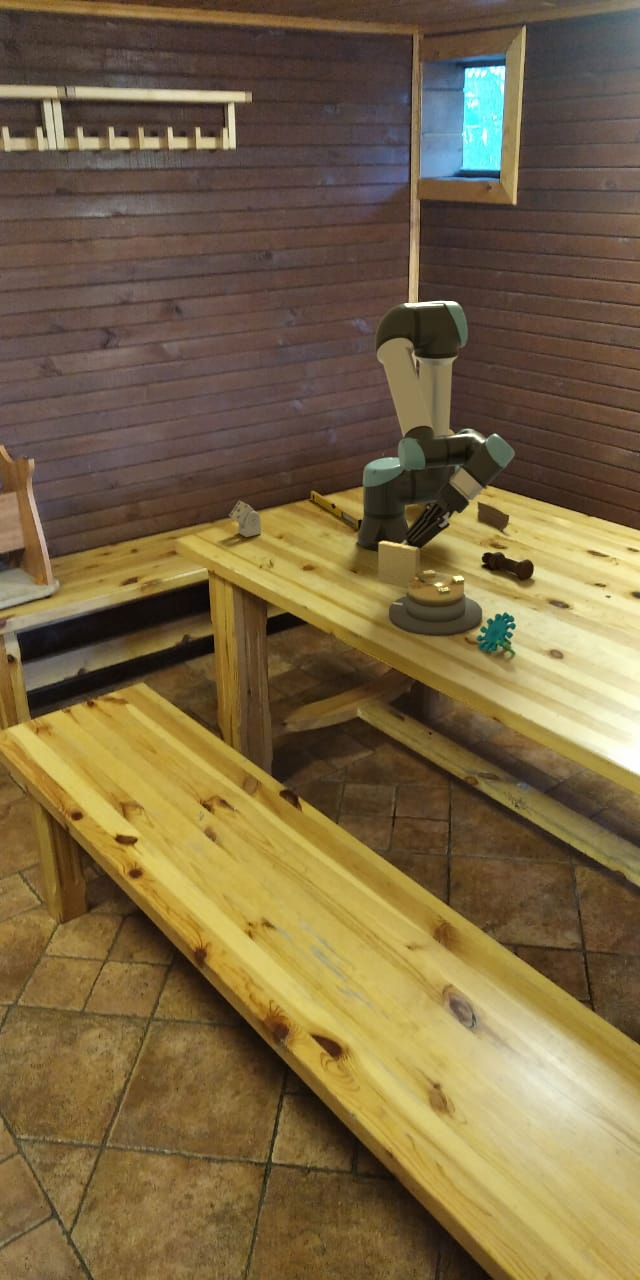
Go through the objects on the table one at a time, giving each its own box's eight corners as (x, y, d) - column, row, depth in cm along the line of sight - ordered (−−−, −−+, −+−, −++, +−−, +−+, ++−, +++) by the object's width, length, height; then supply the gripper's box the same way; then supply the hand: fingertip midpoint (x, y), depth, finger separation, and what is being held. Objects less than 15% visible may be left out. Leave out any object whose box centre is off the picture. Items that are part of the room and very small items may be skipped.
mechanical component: (262, 534, 288) (260, 501, 283) (239, 540, 284) (236, 507, 280) (252, 529, 292) (250, 497, 287) (230, 535, 288) (227, 502, 284)
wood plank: (473, 517, 296) (474, 501, 294) (479, 516, 297) (480, 500, 295) (503, 532, 283) (504, 516, 281) (508, 531, 284) (510, 515, 282)
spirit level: (310, 499, 317) (310, 490, 316) (314, 499, 318) (313, 490, 316) (358, 529, 290) (358, 520, 289) (362, 529, 290) (362, 519, 289)
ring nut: (472, 591, 232) (474, 548, 227) (448, 610, 222) (449, 566, 218) (393, 574, 243) (394, 533, 238) (366, 592, 233) (366, 550, 228)
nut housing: (370, 613, 235) (370, 594, 233) (438, 590, 246) (438, 571, 244) (431, 644, 219) (432, 624, 217) (501, 618, 230) (502, 599, 228)
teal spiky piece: (469, 632, 220) (503, 602, 217) (486, 646, 223) (519, 617, 220) (484, 660, 211) (519, 629, 208) (501, 674, 214) (536, 644, 211)
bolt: (486, 569, 263) (528, 584, 252) (475, 564, 260) (517, 579, 249) (494, 549, 263) (537, 563, 252) (483, 544, 259) (525, 557, 248)
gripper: (478, 509, 228) (408, 582, 233) (461, 493, 239) (395, 563, 244) (457, 489, 225) (386, 564, 230) (441, 473, 236) (374, 545, 241)
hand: (391, 563), depth 237 cm, fingers closed
